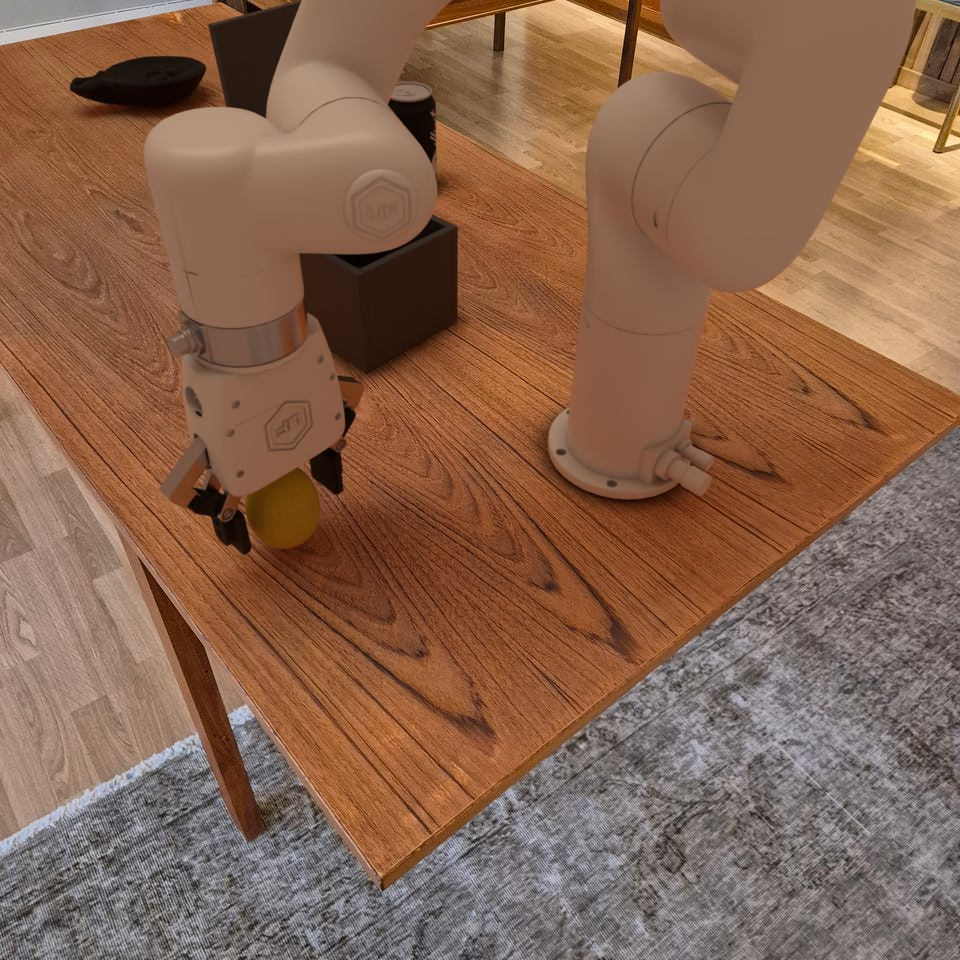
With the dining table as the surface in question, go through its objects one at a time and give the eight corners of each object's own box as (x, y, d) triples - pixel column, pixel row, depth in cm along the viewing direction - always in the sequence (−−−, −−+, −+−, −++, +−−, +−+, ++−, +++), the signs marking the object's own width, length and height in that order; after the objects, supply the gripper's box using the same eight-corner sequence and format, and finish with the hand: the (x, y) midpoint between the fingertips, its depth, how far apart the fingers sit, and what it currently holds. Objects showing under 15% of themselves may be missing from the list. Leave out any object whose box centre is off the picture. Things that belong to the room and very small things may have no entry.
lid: (329, -6, 81) (295, -13, 84) (212, 25, 75) (180, 16, 78) (353, 170, 92) (322, 159, 95) (253, 211, 85) (223, 197, 88)
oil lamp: (65, 96, 133) (55, 62, 129) (193, 74, 140) (187, 41, 137) (89, 133, 124) (78, 97, 120) (225, 108, 131) (218, 73, 128)
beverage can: (430, 200, 112) (428, 103, 103) (379, 194, 113) (373, 97, 104) (442, 177, 116) (441, 82, 108) (393, 171, 117) (388, 77, 109)
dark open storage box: (457, 321, 93) (458, 226, 85) (366, 373, 86) (357, 275, 78) (359, 265, 100) (351, 173, 93) (268, 309, 94) (251, 214, 86)
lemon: (339, 541, 70) (329, 468, 65) (283, 580, 67) (268, 507, 62) (295, 506, 73) (282, 433, 67) (239, 542, 70) (221, 469, 64)
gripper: (157, 409, 49) (215, 605, 61) (390, 290, 58) (401, 480, 71) (88, 352, 53) (156, 548, 65) (317, 248, 62) (339, 436, 74)
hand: (283, 512), depth 68 cm, fingers open, 8 cm apart
